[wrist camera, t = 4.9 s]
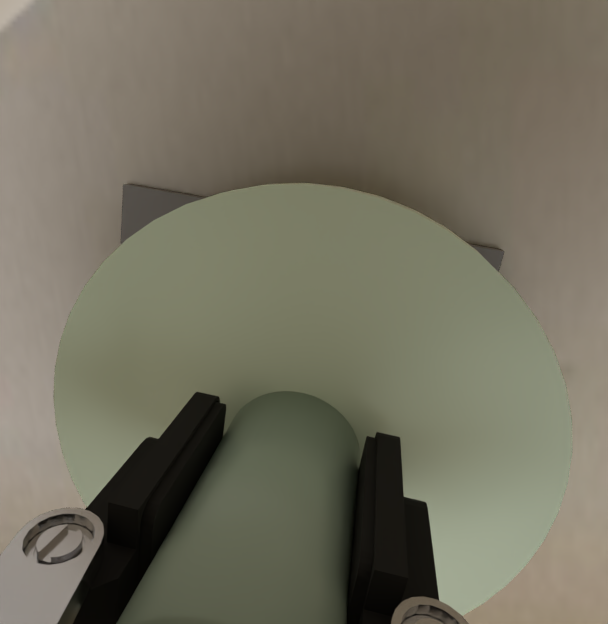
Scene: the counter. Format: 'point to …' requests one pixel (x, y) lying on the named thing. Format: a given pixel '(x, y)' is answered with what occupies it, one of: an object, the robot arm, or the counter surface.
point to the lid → (314, 397)
